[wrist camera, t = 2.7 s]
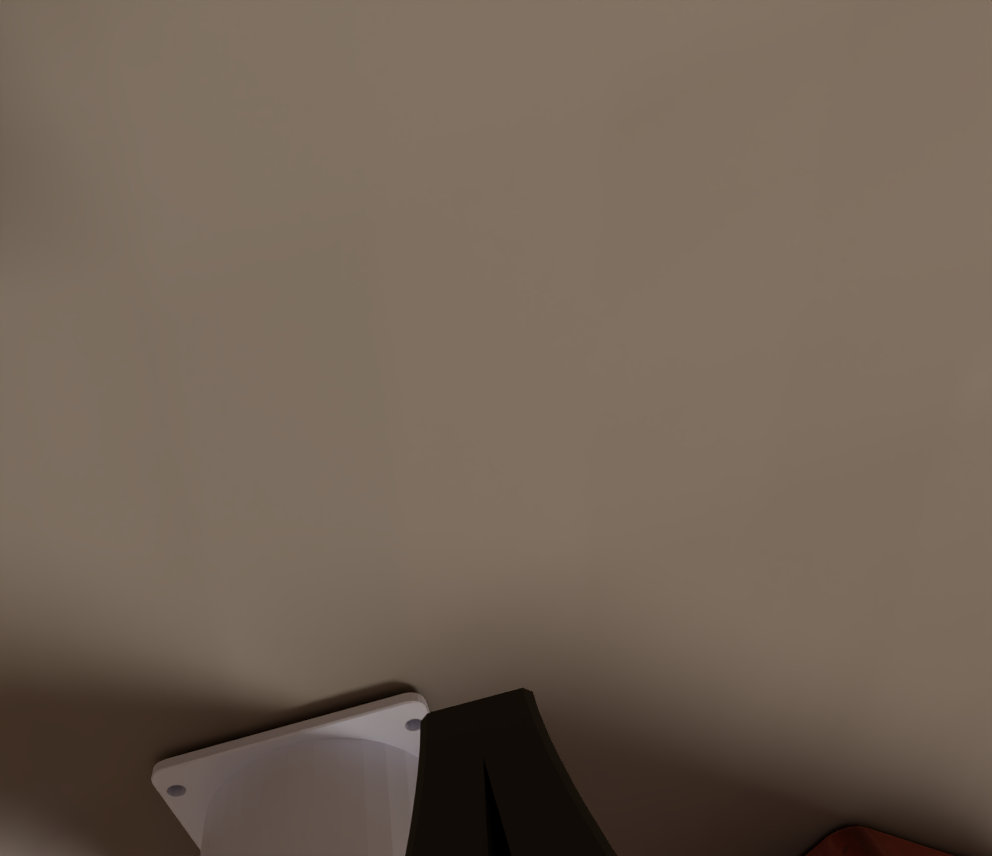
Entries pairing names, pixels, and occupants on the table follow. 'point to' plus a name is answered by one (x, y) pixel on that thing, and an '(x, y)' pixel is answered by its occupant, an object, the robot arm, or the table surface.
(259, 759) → the robot arm
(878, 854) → the plant pot
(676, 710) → the table surface
